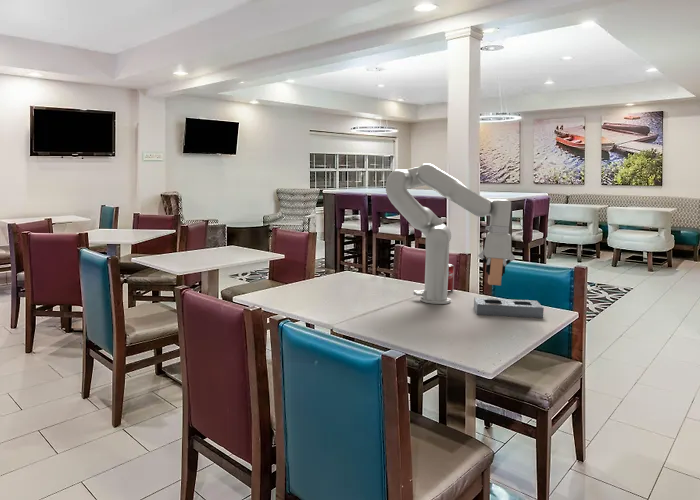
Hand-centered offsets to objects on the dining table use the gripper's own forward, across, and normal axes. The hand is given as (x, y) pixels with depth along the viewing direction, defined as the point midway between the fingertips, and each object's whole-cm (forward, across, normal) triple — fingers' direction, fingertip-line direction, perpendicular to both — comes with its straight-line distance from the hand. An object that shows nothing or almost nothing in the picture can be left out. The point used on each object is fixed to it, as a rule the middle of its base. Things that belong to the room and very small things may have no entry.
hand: (495, 274), depth 205 cm
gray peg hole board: (+13, +4, -11) cm, 17 cm away
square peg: (+4, 0, 0) cm, 4 cm away
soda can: (+14, -18, +28) cm, 36 cm away
